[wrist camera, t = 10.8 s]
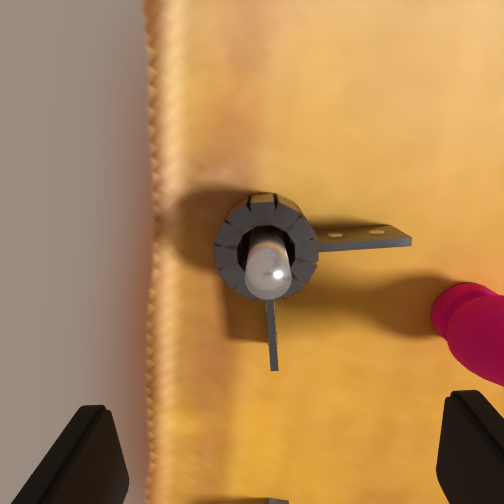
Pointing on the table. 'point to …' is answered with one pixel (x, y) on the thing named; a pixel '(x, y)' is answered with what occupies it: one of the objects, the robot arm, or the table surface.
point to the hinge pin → (267, 263)
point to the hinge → (298, 252)
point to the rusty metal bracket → (277, 501)
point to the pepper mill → (473, 328)
